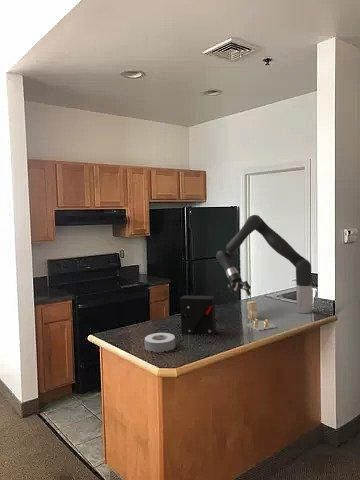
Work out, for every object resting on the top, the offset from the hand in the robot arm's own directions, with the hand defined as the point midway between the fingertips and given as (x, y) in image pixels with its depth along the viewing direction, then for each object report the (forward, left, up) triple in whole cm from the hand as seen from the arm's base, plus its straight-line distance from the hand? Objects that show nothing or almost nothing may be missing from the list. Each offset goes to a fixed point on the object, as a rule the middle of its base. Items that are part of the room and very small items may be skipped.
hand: (243, 296), depth 252 cm
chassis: (+17, +20, -12) cm, 29 cm away
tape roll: (+72, -9, -13) cm, 74 cm away
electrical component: (+43, -5, -12) cm, 45 cm away
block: (+4, +8, -12) cm, 15 cm away
